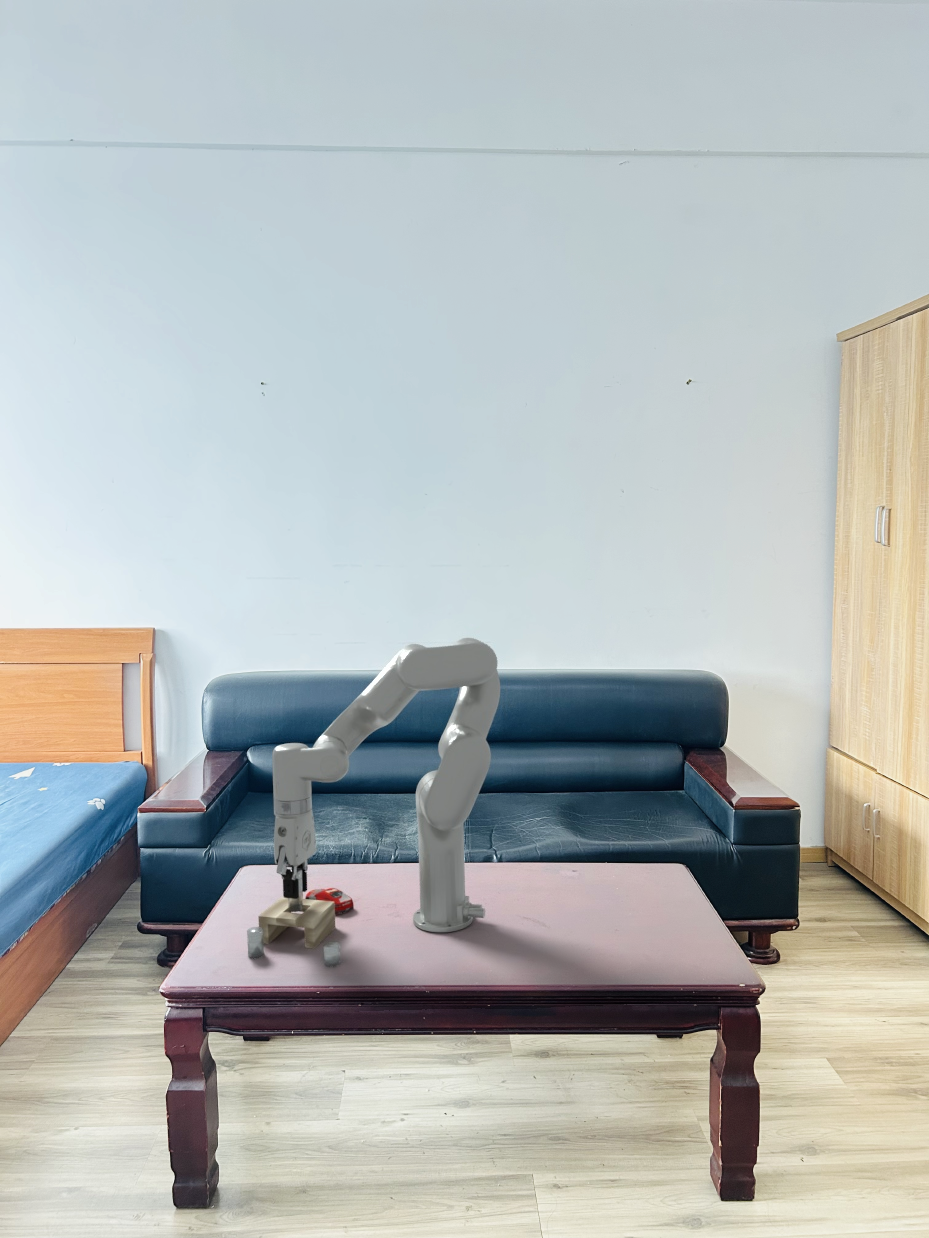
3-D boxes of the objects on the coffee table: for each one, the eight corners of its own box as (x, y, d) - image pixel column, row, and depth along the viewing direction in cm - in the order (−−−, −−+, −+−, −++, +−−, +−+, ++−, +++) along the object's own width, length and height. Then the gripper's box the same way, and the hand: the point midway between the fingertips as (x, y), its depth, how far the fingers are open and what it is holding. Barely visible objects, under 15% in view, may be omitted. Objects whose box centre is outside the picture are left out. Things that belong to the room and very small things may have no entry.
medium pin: (266, 952, 169) (265, 927, 169) (259, 959, 166) (258, 933, 166) (253, 950, 170) (251, 926, 170) (245, 957, 167) (244, 932, 167)
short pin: (342, 960, 165) (342, 942, 165) (336, 967, 162) (335, 949, 162) (328, 959, 166) (327, 941, 165) (321, 966, 163) (320, 948, 163)
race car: (301, 903, 194) (300, 885, 194) (321, 896, 198) (320, 879, 197) (337, 919, 185) (336, 900, 184) (357, 911, 189) (356, 893, 188)
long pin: (305, 906, 177) (304, 868, 177) (298, 912, 174) (297, 873, 174) (292, 905, 178) (291, 867, 178) (285, 911, 175) (284, 872, 175)
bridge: (335, 927, 180) (334, 901, 179) (314, 948, 170) (313, 921, 170) (282, 922, 183) (281, 896, 183) (259, 942, 173) (258, 915, 173)
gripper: (291, 818, 166) (293, 911, 167) (327, 795, 182) (329, 881, 183) (255, 815, 168) (258, 908, 169) (294, 793, 184) (296, 878, 185)
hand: (295, 893), depth 176 cm, fingers closed on long pin, 3 cm apart
